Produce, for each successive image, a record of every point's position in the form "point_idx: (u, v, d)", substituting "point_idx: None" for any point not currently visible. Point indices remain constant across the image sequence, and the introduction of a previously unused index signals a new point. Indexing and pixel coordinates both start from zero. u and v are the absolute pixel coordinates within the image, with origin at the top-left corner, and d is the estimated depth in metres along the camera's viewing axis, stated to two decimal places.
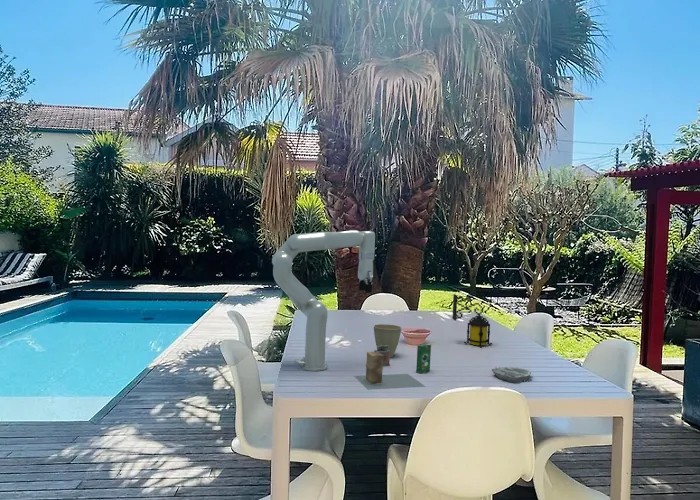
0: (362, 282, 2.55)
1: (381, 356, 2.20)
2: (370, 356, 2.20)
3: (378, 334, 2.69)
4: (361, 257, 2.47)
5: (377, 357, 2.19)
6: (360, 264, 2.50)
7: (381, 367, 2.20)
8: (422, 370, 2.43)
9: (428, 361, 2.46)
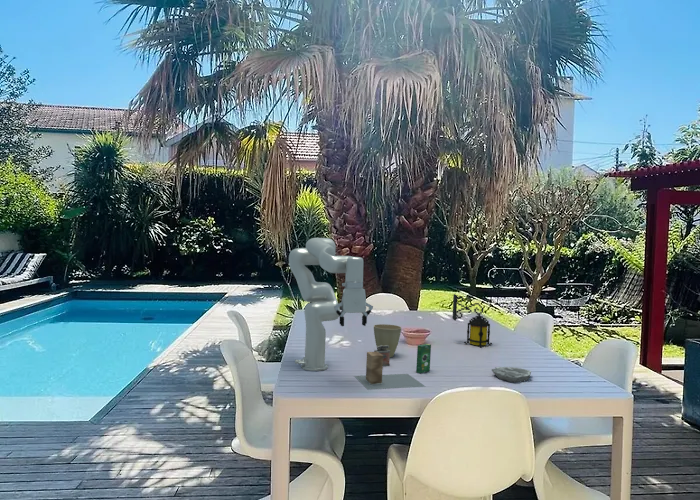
0: None
1: (381, 356, 2.20)
2: (370, 356, 2.20)
3: (378, 334, 2.69)
4: (360, 287, 2.18)
5: (377, 357, 2.19)
6: (354, 295, 2.18)
7: (381, 367, 2.20)
8: (422, 370, 2.43)
9: (428, 361, 2.46)
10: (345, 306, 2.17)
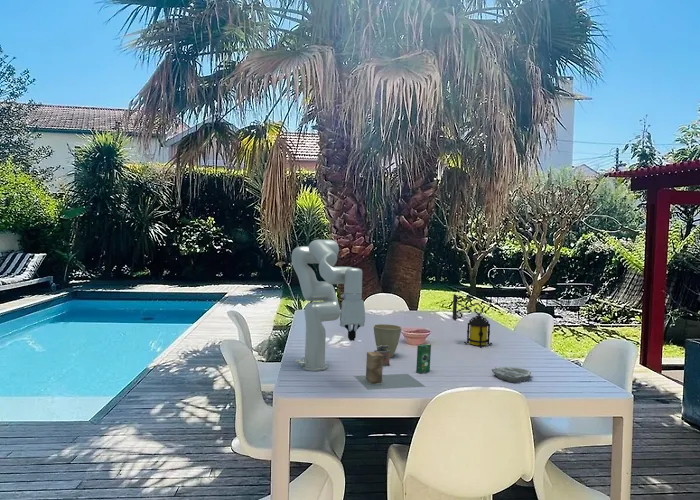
0: None
1: (381, 356, 2.20)
2: (370, 356, 2.20)
3: (378, 334, 2.69)
4: (359, 299, 2.16)
5: (377, 357, 2.19)
6: (353, 307, 2.16)
7: (381, 367, 2.20)
8: (422, 370, 2.43)
9: (428, 361, 2.46)
10: (344, 318, 2.15)
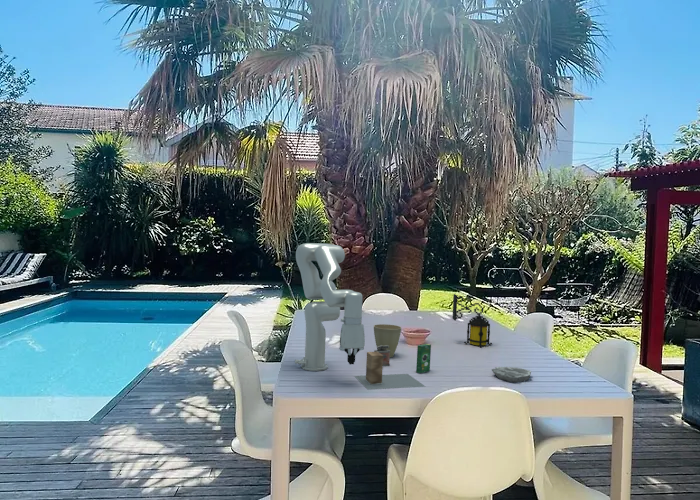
0: None
1: (381, 356, 2.20)
2: (370, 356, 2.20)
3: (378, 334, 2.69)
4: (359, 323, 2.17)
5: (377, 357, 2.19)
6: (353, 331, 2.17)
7: (381, 367, 2.20)
8: (422, 370, 2.43)
9: (428, 361, 2.46)
10: (343, 342, 2.16)
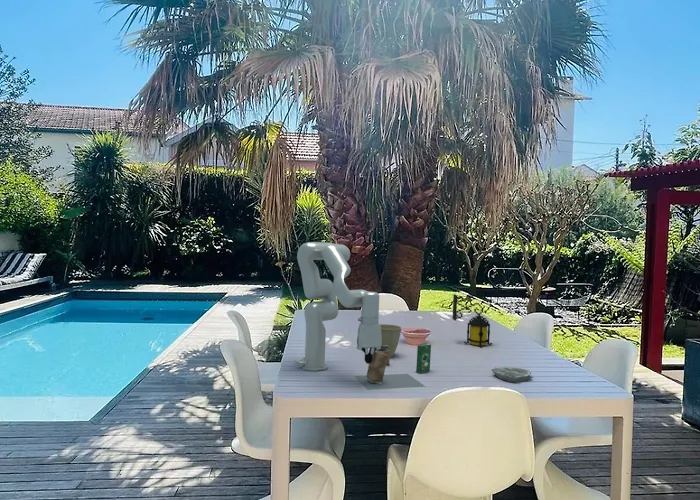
0: None
1: (386, 356, 2.20)
2: (375, 354, 2.21)
3: None
4: (376, 322, 2.19)
5: (382, 356, 2.20)
6: (370, 331, 2.19)
7: (384, 367, 2.20)
8: (422, 370, 2.43)
9: (428, 361, 2.46)
10: (361, 341, 2.18)
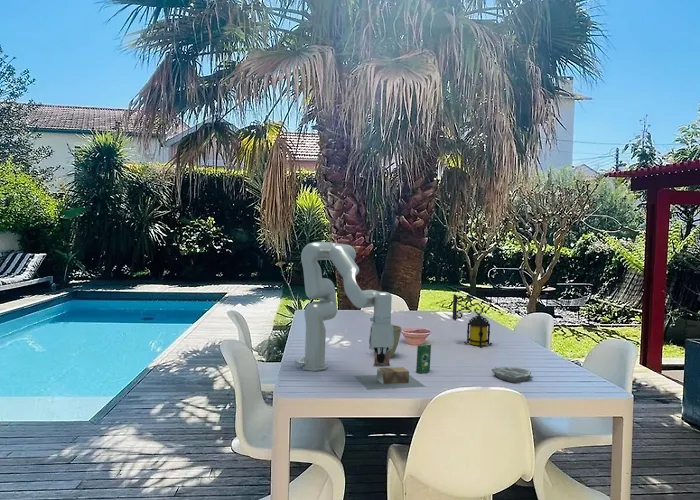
0: None
1: (407, 381, 2.24)
2: (405, 370, 2.25)
3: None
4: (388, 322, 2.20)
5: (407, 377, 2.24)
6: (382, 330, 2.20)
7: (397, 381, 2.22)
8: (422, 370, 2.43)
9: (428, 361, 2.46)
10: (373, 341, 2.20)
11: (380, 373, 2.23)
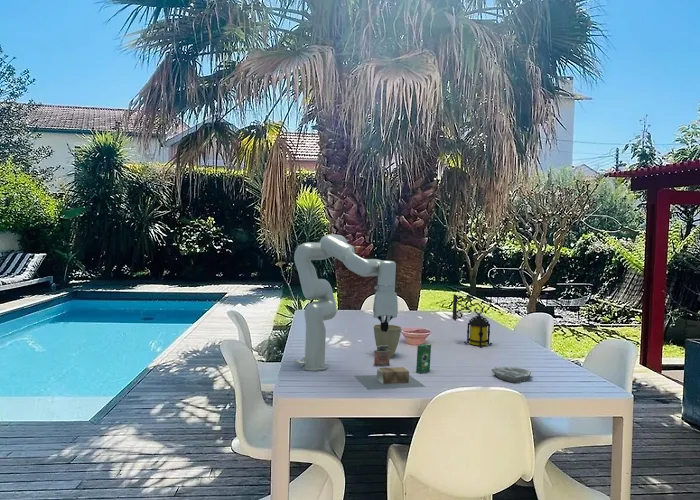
0: None
1: (407, 381, 2.24)
2: (405, 370, 2.25)
3: (378, 334, 2.69)
4: (392, 291, 2.20)
5: (407, 377, 2.24)
6: (386, 299, 2.20)
7: (397, 381, 2.22)
8: (422, 370, 2.43)
9: (428, 361, 2.46)
10: (377, 309, 2.20)
11: (380, 373, 2.23)
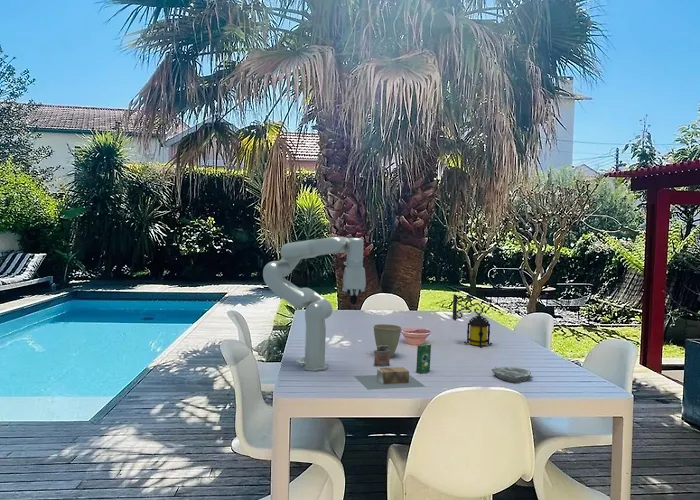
0: None
1: (407, 381, 2.24)
2: (405, 370, 2.25)
3: (378, 334, 2.69)
4: (360, 266, 2.36)
5: (407, 377, 2.24)
6: (355, 273, 2.36)
7: (397, 381, 2.22)
8: (422, 370, 2.43)
9: (428, 361, 2.46)
10: (346, 283, 2.35)
11: (380, 373, 2.23)
